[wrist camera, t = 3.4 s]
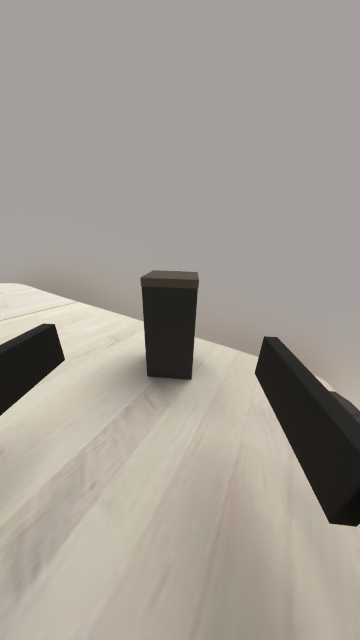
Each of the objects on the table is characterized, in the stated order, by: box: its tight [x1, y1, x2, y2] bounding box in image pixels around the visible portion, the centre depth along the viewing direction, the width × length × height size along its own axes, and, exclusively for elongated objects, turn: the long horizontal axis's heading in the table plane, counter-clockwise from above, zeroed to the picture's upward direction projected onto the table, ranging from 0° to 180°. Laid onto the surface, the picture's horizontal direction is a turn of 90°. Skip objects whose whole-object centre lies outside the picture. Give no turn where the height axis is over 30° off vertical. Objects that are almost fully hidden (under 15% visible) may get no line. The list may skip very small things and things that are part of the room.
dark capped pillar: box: [141, 271, 199, 379], centre depth 19 cm, size 5×5×11 cm
